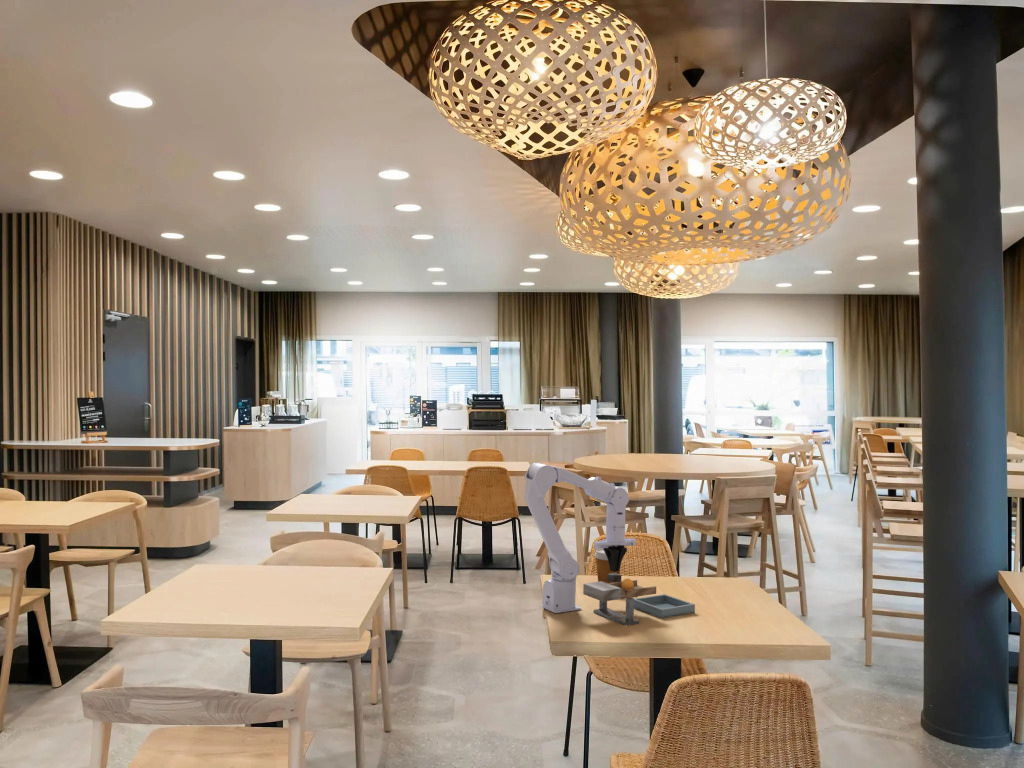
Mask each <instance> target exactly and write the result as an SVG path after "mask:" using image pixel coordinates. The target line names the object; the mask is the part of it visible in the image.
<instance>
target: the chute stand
mask: <svg viewBox="0 0 1024 768" xmlns="http://www.w3.org/2000/svg"><path fill="white" fill-rule="evenodd" d="M634 599H635V598H634V597H630V598H625V613H621V612H619V611H616V610H614V609H612V608H609V607H608V601H605V602H602V601H599V600H598V601H599V602H598V607H599V608H596V609H593V613H594V614H596V615H598V616H601V617H603V618H606V619H608V620H610V621H613V622H614V623H615V622H616V623H618V624H620V625H623V626H632V625H639V624H640V620H639V619H636V618H634V617H635V616H634V615H635V608H634Z"/></svg>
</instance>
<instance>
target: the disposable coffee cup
mask: <svg viewBox="0 0 1024 768" xmlns="http://www.w3.org/2000/svg"><path fill="white" fill-rule="evenodd" d="M594 557H595V563H596V565H595V566H596V575H597V582H600V581H602V582H605V583H611V582H610V581H607V574H611V573H617V574H620V575H621V573H620V572H621V565H620V568H619V571H616V572H614V571H610V566H609V562H608V559H607V556H606V554H605V552H604V550H603V548H601V549H596V550H595V553H594Z"/></svg>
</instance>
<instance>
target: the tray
mask: <svg viewBox="0 0 1024 768" xmlns="http://www.w3.org/2000/svg"><path fill="white" fill-rule="evenodd" d="M633 599H634V610H638V611H641V612H643V613H646V614H649V615H652V616H654V617H656V618H659V619H666V618H673V617H679V616H684V615H691V614H695V613H696V604H694V603H693V602H692V603H691V602H689V601H687V600H683V599H679V598H677V597H674V596H672V595H668V594H665V593H664V594H655V595H648V596H645V597H644V596H642V597H638V598H637V597H635V598H633Z"/></svg>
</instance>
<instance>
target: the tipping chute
mask: <svg viewBox="0 0 1024 768" xmlns="http://www.w3.org/2000/svg"><path fill="white" fill-rule="evenodd" d="M631 580H632V581H633V584H634V586H633V589H631V590H624V589H623V588H622V585H621V584H622V574H621V573H620V574H617V573H611V574H607V581H610V582H611V583H605V582H602V581H600V582H598V581H593V582H587V583H583V592H582V593H583V595H584V596H586V597H589V598H593V599H595V600H597V601H602V602H605V601H607V602H610V601H616V600H623V599H624V600H626V598H630V597H631V598H637V597H638V598H639V597H644V596H645V597H646V596H652V595H657V586H656V585H652V586H647V587H643V586H640V585H638V580H637V579H631Z"/></svg>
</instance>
